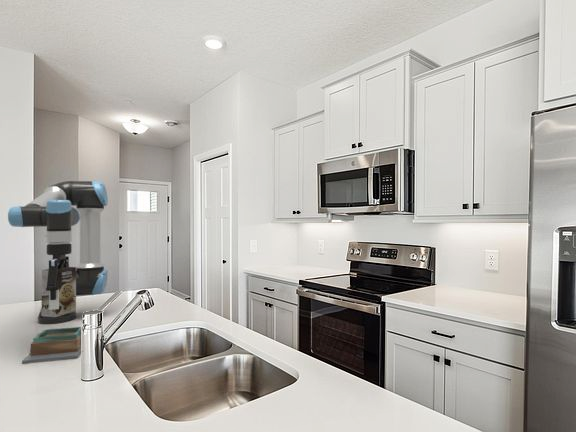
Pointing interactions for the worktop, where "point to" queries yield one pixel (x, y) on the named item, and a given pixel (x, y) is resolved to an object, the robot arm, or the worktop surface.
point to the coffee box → (60, 292)
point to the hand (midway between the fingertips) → (59, 305)
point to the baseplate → (51, 357)
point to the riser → (56, 341)
